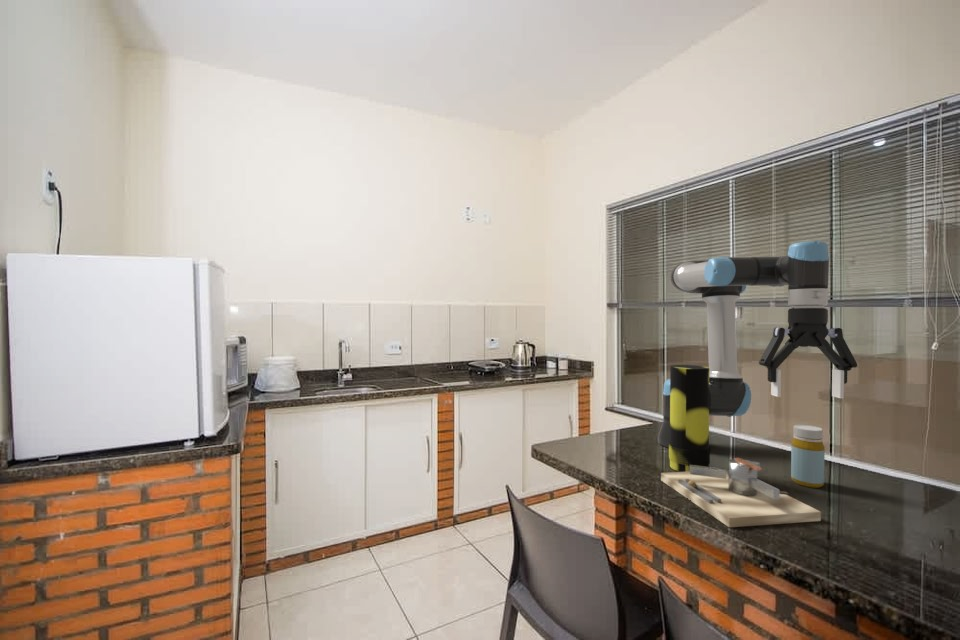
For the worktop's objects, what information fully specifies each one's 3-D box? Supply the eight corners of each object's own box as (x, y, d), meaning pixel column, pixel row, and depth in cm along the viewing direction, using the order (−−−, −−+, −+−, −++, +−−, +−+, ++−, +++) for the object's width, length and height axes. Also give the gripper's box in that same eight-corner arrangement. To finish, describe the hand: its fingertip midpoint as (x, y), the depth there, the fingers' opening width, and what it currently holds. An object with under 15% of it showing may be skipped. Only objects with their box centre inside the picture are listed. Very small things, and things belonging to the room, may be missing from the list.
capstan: (687, 481, 109) (687, 452, 109) (756, 477, 112) (756, 449, 111) (735, 511, 92) (736, 478, 92) (816, 506, 95) (816, 473, 95)
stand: (660, 480, 115) (660, 466, 115) (737, 476, 118) (737, 462, 118) (729, 527, 90) (729, 509, 90) (824, 520, 93) (824, 503, 93)
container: (660, 464, 127) (661, 365, 127) (689, 460, 131) (689, 364, 131) (688, 477, 117) (689, 369, 117) (718, 473, 121) (719, 368, 120)
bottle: (830, 489, 109) (830, 431, 109) (799, 487, 111) (800, 430, 111) (814, 479, 116) (815, 425, 116) (786, 477, 118) (786, 423, 117)
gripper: (759, 307, 98) (759, 398, 98) (878, 307, 95) (877, 401, 95) (743, 307, 105) (742, 392, 106) (853, 307, 103) (852, 394, 103)
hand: (806, 396), depth 101 cm, fingers open, 13 cm apart
